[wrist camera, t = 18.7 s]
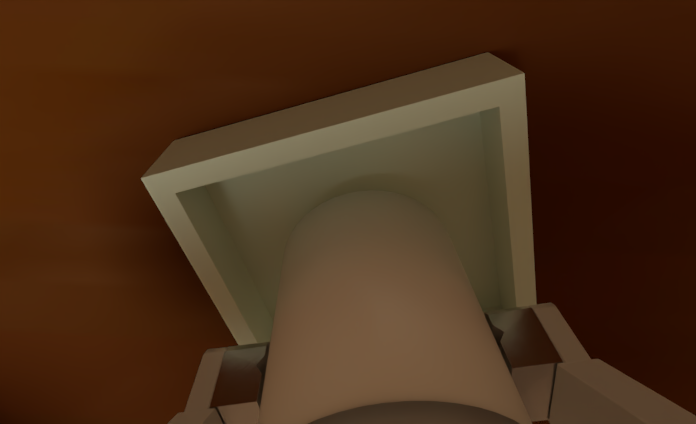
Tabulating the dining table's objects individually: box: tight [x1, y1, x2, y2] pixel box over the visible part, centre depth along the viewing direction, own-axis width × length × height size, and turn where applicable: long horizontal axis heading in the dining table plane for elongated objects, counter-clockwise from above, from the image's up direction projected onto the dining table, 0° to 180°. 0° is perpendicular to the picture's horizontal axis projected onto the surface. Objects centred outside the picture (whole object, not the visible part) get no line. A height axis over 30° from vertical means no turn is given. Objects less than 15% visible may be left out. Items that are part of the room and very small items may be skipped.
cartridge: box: [258, 190, 532, 424], centre depth 9 cm, size 5×5×7 cm
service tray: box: [141, 52, 537, 345], centre depth 13 cm, size 9×9×2 cm
